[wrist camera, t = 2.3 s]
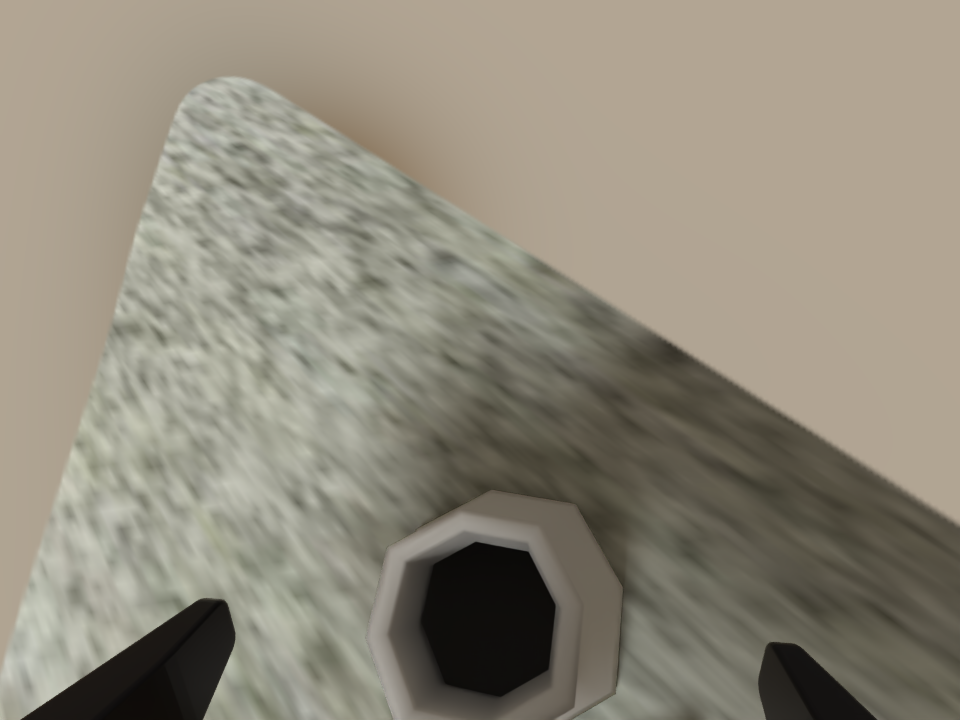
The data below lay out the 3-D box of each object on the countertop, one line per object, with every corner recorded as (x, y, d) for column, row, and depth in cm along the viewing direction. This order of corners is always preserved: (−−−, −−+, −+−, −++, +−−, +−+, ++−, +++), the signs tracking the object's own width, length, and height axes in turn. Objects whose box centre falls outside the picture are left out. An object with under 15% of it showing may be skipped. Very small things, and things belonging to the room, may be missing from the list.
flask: (406, 759, 15) (207, 1013, 6) (390, 507, 18) (242, 422, 9) (653, 724, 15) (837, 933, 6) (595, 474, 18) (655, 352, 9)
